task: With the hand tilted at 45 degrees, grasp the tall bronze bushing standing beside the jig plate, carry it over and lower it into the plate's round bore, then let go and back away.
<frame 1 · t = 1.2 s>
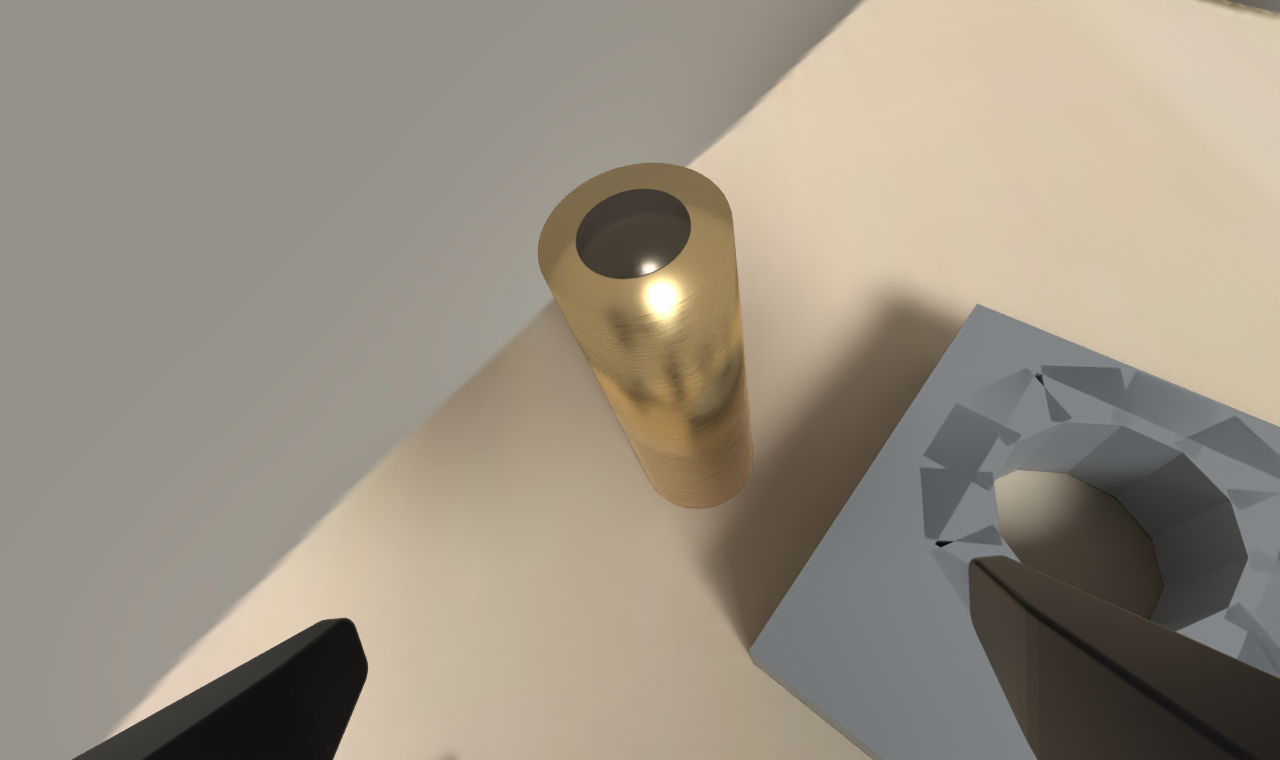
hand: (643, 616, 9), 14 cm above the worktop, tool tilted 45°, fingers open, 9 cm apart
jig: (1062, 622, 19), on the worktop
bushing: (698, 455, 24), on the worktop
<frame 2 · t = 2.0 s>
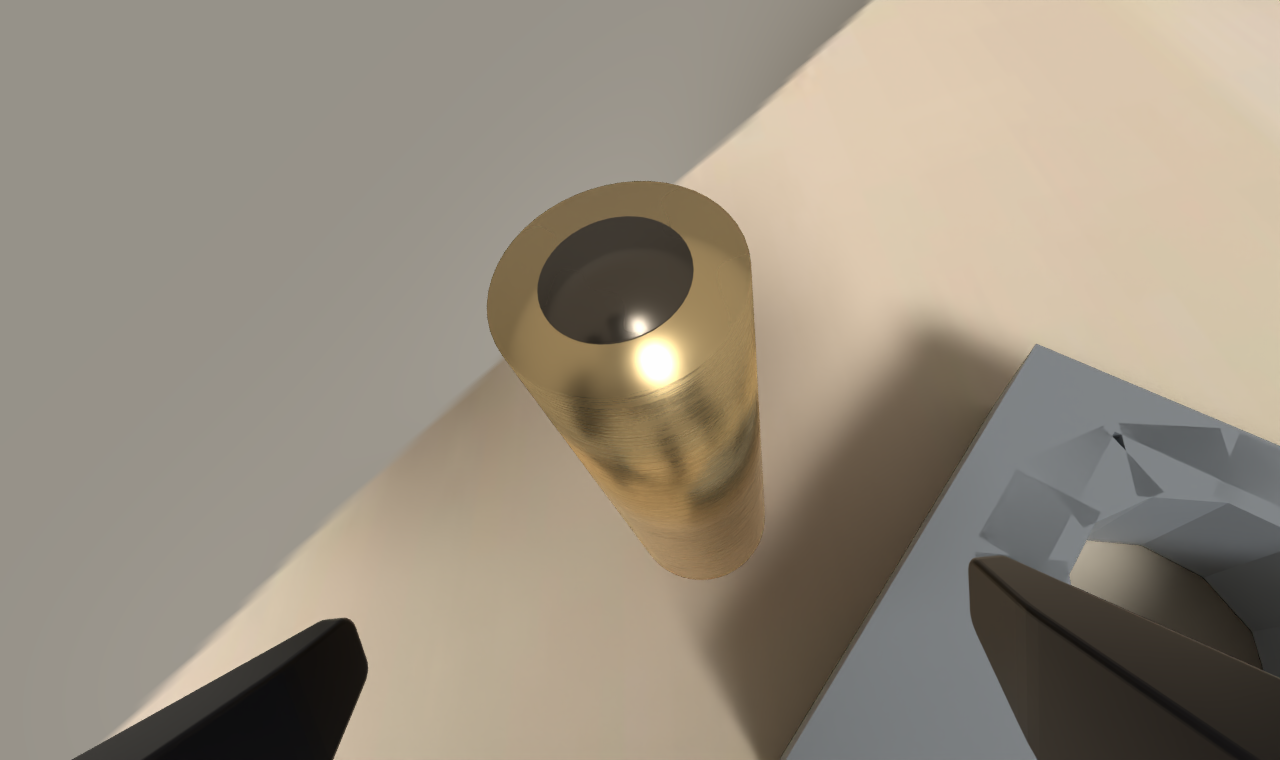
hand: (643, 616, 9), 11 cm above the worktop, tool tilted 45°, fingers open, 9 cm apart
jig: (1147, 738, 16), on the worktop
bushing: (700, 514, 21), on the worktop
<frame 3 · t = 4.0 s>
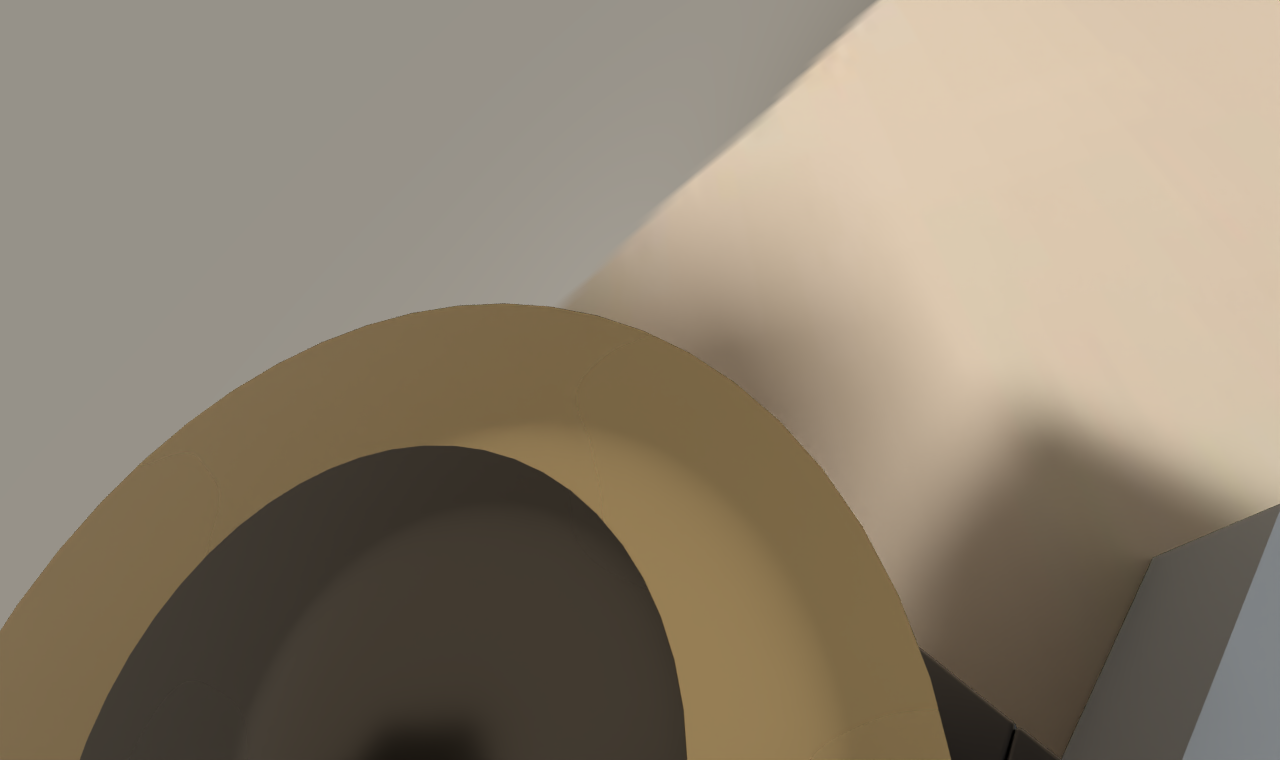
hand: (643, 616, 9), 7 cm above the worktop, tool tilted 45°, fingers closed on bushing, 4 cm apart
bushing: (700, 724, 13), on the worktop, touching gripper
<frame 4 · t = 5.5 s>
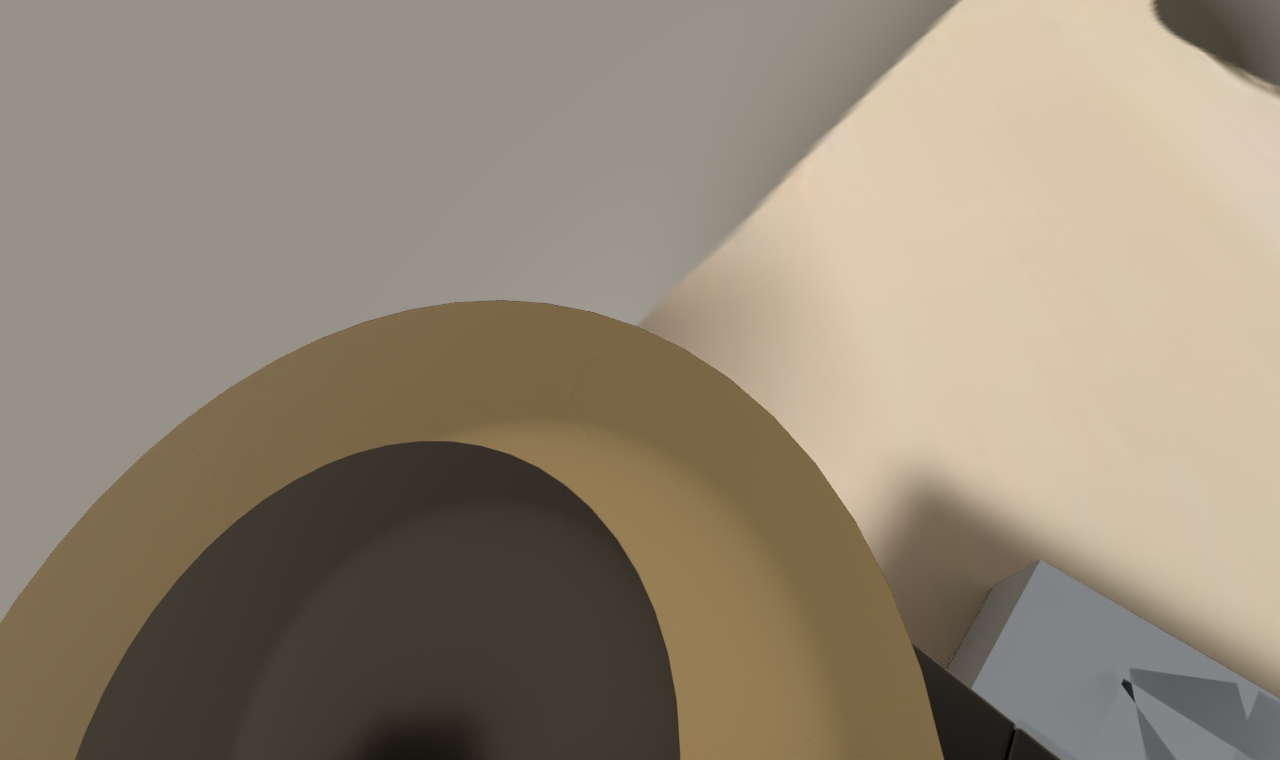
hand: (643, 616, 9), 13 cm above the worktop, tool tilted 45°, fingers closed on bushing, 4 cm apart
bushing: (699, 723, 13), point 7 cm above the worktop, touching gripper
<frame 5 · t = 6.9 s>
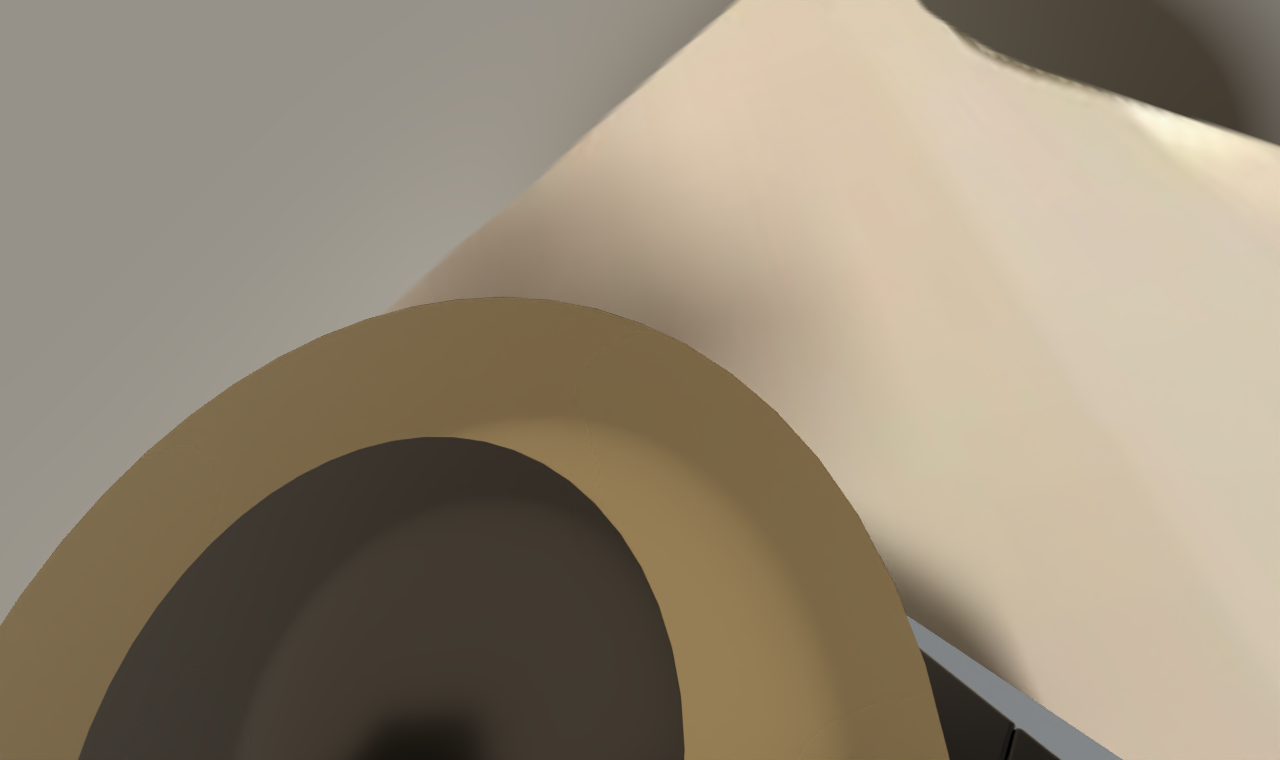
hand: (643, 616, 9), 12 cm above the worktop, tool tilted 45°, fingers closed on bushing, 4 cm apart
bushing: (700, 722, 13), point 6 cm above the worktop, touching gripper
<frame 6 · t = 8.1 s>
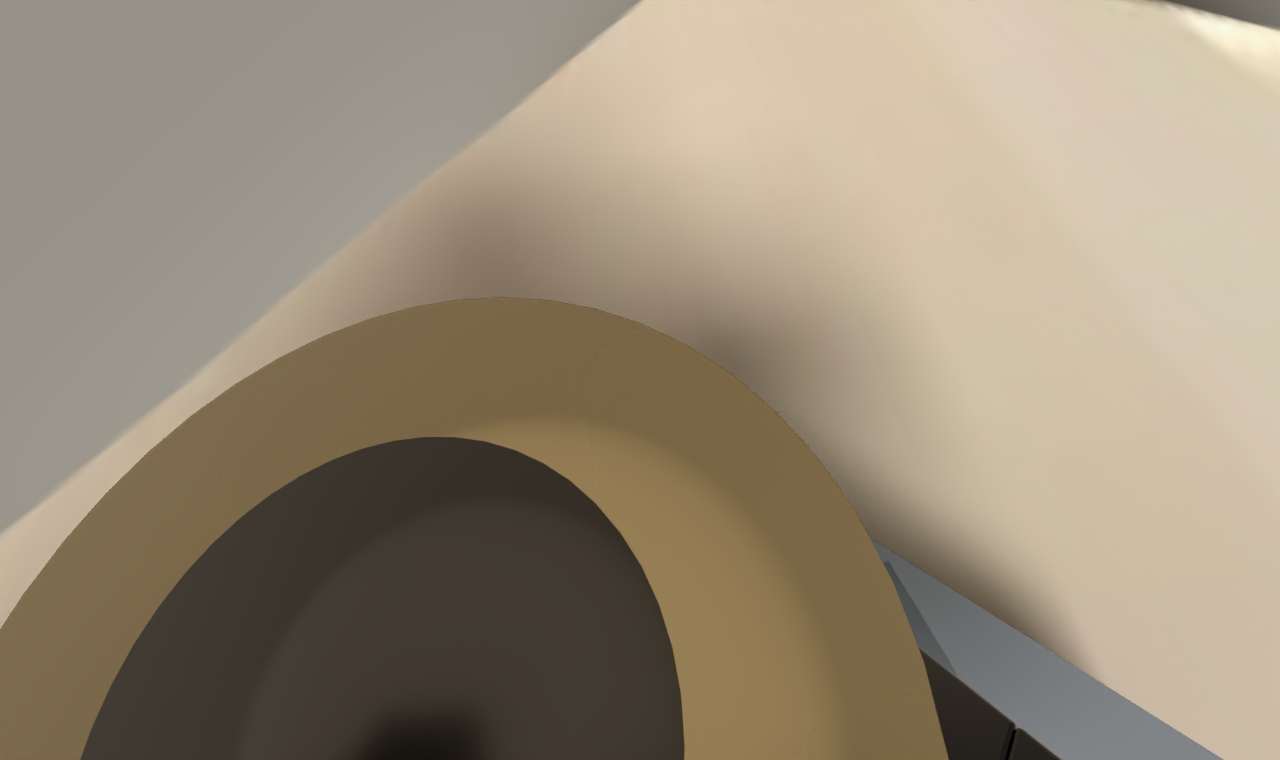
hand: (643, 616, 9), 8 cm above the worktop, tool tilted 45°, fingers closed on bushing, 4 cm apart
bushing: (701, 722, 14), point 1 cm above the worktop, touching gripper
when the fingers open (8 cm above the worktop, at t = 8.1 s): bushing drops 1 cm, resting in jig.
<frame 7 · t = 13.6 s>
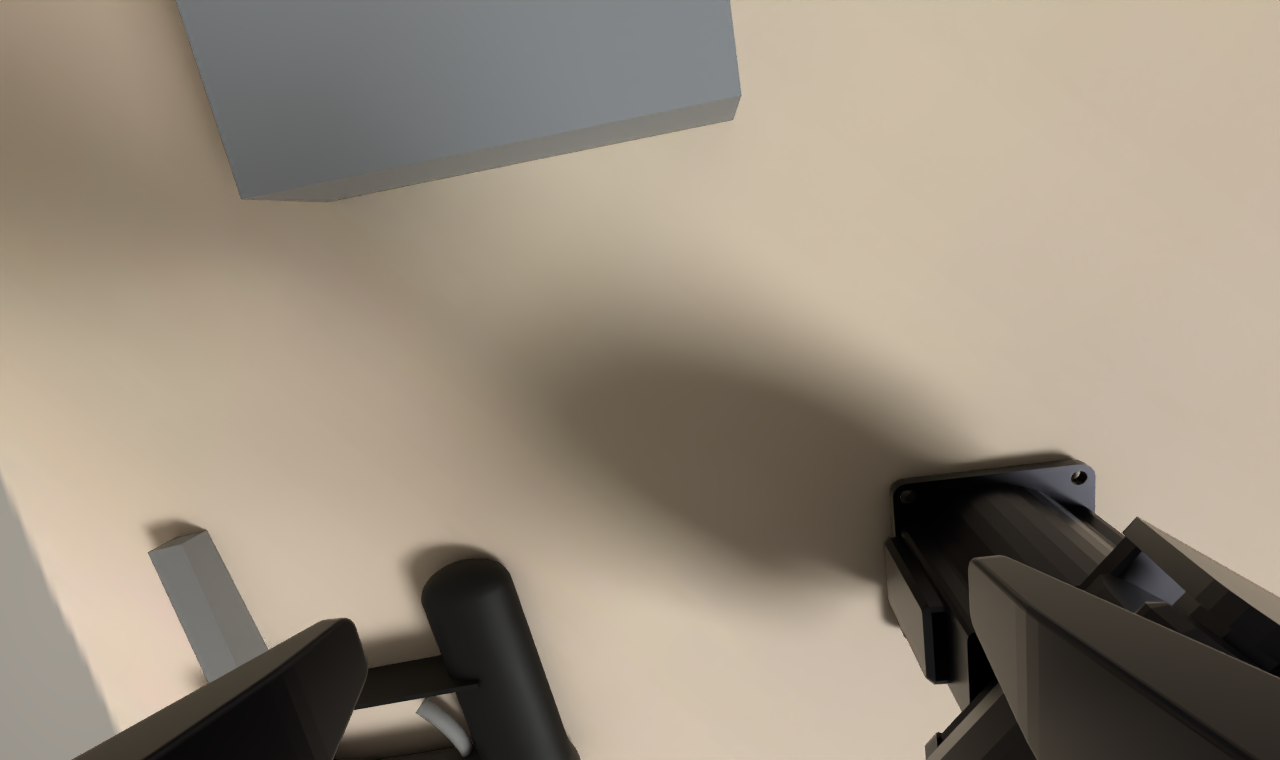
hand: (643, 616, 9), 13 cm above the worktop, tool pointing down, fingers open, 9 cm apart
door handle: (343, 666, 27), on the worktop
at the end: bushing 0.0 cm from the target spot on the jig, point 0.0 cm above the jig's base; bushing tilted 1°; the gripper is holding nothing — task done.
